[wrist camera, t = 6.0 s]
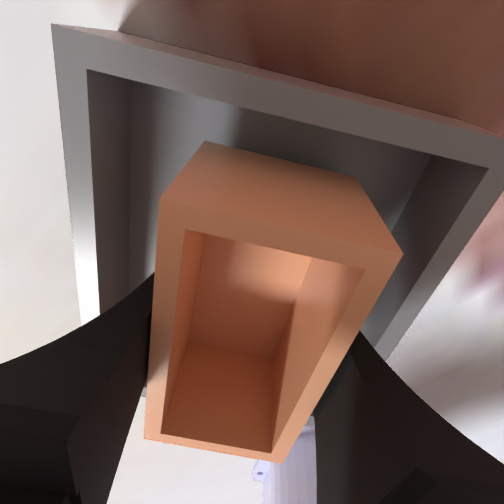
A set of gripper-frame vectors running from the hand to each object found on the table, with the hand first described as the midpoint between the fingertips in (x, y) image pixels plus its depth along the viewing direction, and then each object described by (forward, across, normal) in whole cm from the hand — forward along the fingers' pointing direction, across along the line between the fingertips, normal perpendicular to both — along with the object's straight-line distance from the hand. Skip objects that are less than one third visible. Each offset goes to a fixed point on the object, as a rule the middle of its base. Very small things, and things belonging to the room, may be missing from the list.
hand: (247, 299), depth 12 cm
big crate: (+4, 0, 0) cm, 4 cm away
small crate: (+2, 0, 0) cm, 2 cm away
